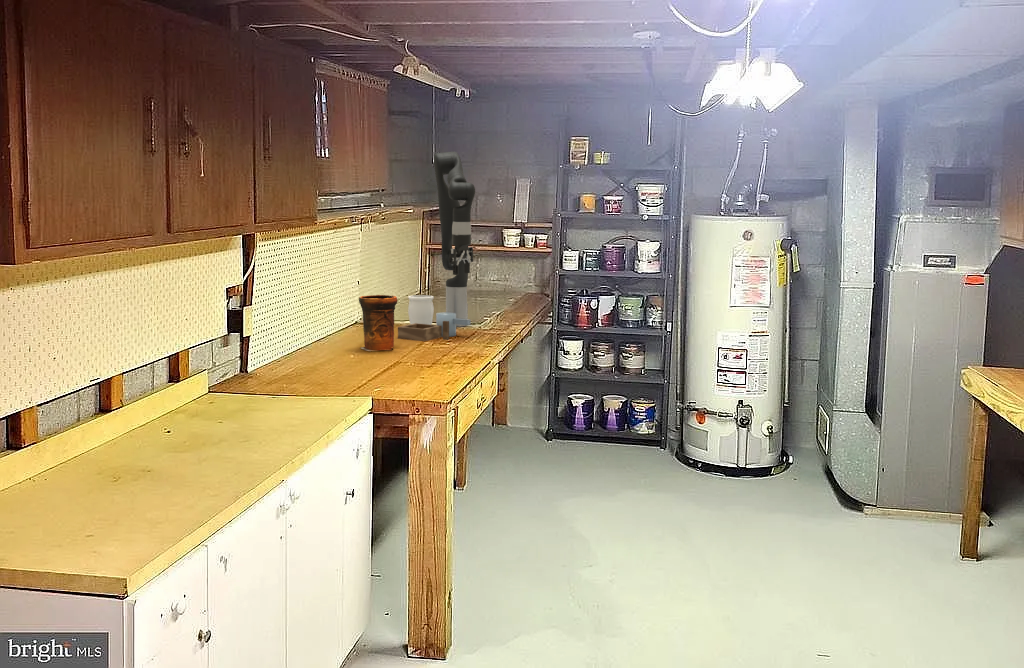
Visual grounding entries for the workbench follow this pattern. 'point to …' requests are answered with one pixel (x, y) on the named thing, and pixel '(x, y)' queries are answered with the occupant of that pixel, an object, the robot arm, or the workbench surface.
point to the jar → (420, 309)
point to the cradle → (423, 331)
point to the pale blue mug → (450, 321)
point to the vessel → (378, 321)
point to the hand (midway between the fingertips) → (461, 274)
